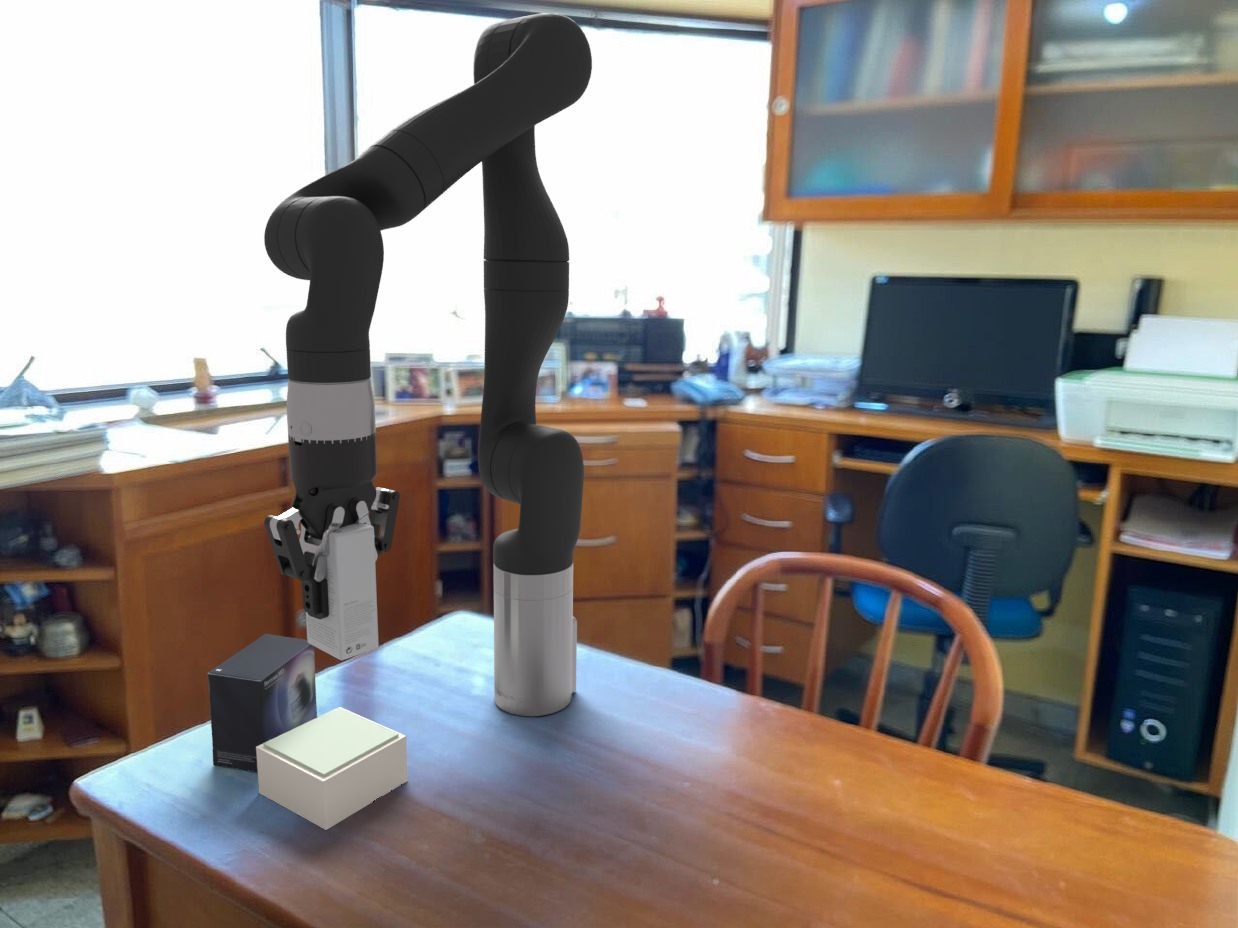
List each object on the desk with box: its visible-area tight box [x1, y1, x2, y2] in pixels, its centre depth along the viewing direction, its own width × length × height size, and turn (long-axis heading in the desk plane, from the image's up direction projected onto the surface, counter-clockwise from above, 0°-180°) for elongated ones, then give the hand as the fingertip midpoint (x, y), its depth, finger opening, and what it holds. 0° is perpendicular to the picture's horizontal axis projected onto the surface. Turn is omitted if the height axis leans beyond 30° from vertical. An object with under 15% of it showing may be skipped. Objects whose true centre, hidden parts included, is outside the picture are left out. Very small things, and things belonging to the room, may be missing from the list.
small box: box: [207, 633, 318, 773], centre depth 97 cm, size 11×6×10 cm, turn 168°
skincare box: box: [300, 523, 380, 661], centre depth 85 cm, size 6×4×12 cm
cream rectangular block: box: [256, 706, 408, 831], centre depth 90 cm, size 10×10×5 cm
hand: (340, 607), depth 86 cm, fingers closed on skincare box, 4 cm apart
